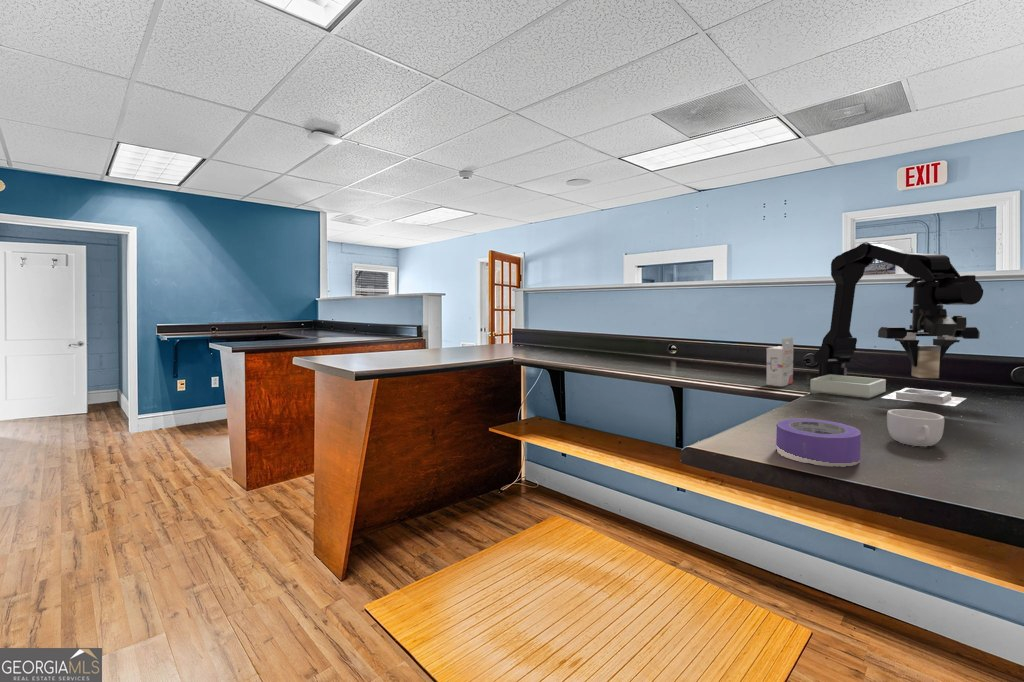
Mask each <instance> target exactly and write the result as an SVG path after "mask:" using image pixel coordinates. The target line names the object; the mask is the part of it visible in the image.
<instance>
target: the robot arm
mask: <svg viewBox="0 0 1024 682" xmlns="http://www.w3.org/2000/svg"><path fill="white" fill-rule="evenodd" d="M875 260H876V261H880V262H884V263H886V264H890V265H893V266H895V267H899V268H900V269H902V270H903V272H904V273H906V274H907V275H909V276H911V277H913V278H912V280H911V281H909V282H908V283H907V284H905V288H909V289H910V288H911V289H912V288H913V297H912V308H911V309H909V312H910V314H912V319H911V322H912V323H911V324H910V325H909V329H906V327H905V326H904V327H902V326H881V327H880V328H878V331H877V337H878V338H882V339H887V340H888V339H889V340H890V339H894V341H896V342H899V343H900V345H901V346H902V349H904V351H905V353H906V355H907V357H908V359H909V362H910V364H911V366H912V365H913V366H914V367H917V345H919V343H920V340H919V339H917V337H936V338H932V345H936V346H941V351H940V363H941V362H942V360H943V358H944V356H945V354H946V353H947V351H948V350H949V349H950V347H952V346H953V345H954V344H955V343H960V341H961V340H960V339H958V338H962V339H964V340H968V339H969V340H979V339H980V336H981V335H980V333H981V332H980V330H979V328H977V327H976V326H968V325H967V323H968V322H967V316H965V315H963V314H962V315H961V314H960V315H959V314H958V315H954V314H953V316H948V313H947V308H944V305H946V306H953V305H954V306H956V305H957V306H963V305H964V306H965V305H966V306H967V305H970V306H971V305H972V306H973V305H976V304H977V303H979V302H980V301H982V300H981V299H982V298H983V295H984V289H983V287H982V285H981V283H980V282H979V281H978V280H976V275H975V274H970V275H960V273H959V272H958V270H957V269H956V268H955V266H953V264H952V262H951V261H950V257H949V256H948V255H946V254H938V253H936V254H935V253H916V252H914V251H913V252H912V251H909V250H906V249H901V248H899V247H898V248H897V247H894V246H889V245H886V244H882V243H880V242H878V241H869V242H868V241H867V242H866V241H865V242H863V243H860V244H859V245H857V246H855V247H854V248H851V249H850V250H847V251H845V252H842V253H841V254H839V255H837V256H834V258H833V259H832V260H831V264H830V276H831V277H832V279H833V282H834V284H835V287H834V290H835V291H834V298H833V305H832V312H831V313H832V314H831V320H830V321H831V322H830V329H829V331H828V332H827V334H825V336H823V337H822V338H823V339H822V341H821V345H820V348H819V349H818V350H817V351H816V352H815V354H813V355H812V357H813V361H814V363H818V377H821V376H824V375H828V374H831V375H842V376H848V375H847V374H848V368H847V367H846V363H847V364H850V363H851V361H852V358H853V356H854V354H855V351H857V344H858V338H857V337H853V335H852V333H851V331H850V330H851V322H852V315H853V308H854V300H855V292H856V286H857V283H859V282H860V280H861V279H862V278H863V276H864V273H865V272H866V268H867V267H869V266H870V265H872V264H873V263H874V261H875Z"/></svg>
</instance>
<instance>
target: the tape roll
mask: <svg viewBox="0 0 1024 682" xmlns="http://www.w3.org/2000/svg"><path fill="white" fill-rule="evenodd" d="M775 437H776V439H775V440H776V441H775V442H776V443H775V444H776V445H777V446H778V447H779V448H780V449H782V450H784V451H785V452H787V453H790V454H793V455H795V456H799V457H802V458H807V459H811V460H816V461H822V462H829V463H852V462H858V461H859V460H860V461H861V444H862V443H861V442H862V440H861V439H862V433H861V430H860V429H858V428H856V427H854V426H851V425H848V424H845V423H842V422H841V423H840V422H836V421H830V420H824V419H814V418H787V419H783V420H782V419H781V420H779V421H778V422H776V436H775ZM776 445H775V446H776Z"/></svg>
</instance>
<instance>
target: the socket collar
mask: <svg viewBox="0 0 1024 682" xmlns="http://www.w3.org/2000/svg"><path fill="white" fill-rule="evenodd" d="M880 398H881V399H887V400H888V399H889V400H897V401H905V402H913V403H921V404H922V403H923V404H932V405H938V406H939V405H940V406H949V407H956V406H958V405H959V404H961V403H962V402H963V401H965V400H967V397H959V396H952V392H951V391H941V390H932V389H931V390H930V389H920V388H913V387H911V388H910V387H903V388H902V389H901V390H895V391H893V392H891V393H889V394H886V395H884V396H882V397H880Z"/></svg>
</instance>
